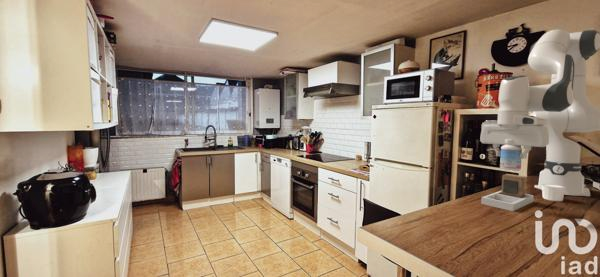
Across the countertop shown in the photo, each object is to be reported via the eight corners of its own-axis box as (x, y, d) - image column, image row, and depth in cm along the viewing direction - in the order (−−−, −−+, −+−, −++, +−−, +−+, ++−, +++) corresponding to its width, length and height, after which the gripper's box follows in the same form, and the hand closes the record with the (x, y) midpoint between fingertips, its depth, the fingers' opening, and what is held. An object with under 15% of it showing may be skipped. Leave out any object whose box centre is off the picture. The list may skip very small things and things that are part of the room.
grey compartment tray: (502, 198, 110) (503, 189, 110) (533, 205, 102) (533, 195, 102) (481, 207, 100) (481, 197, 99) (512, 215, 91) (513, 204, 91)
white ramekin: (569, 205, 102) (570, 187, 101) (551, 205, 102) (552, 187, 102) (552, 200, 109) (553, 183, 108) (536, 200, 109) (537, 183, 108)
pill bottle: (522, 171, 92) (524, 140, 92) (500, 169, 96) (502, 139, 95) (519, 169, 97) (521, 139, 97) (499, 167, 101) (500, 138, 100)
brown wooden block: (506, 197, 107) (507, 173, 107) (524, 201, 102) (525, 176, 102) (500, 199, 104) (501, 175, 103) (518, 203, 99) (520, 178, 98)
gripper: (477, 120, 103) (476, 154, 104) (543, 119, 85) (541, 161, 86) (486, 120, 106) (484, 153, 107) (552, 119, 88) (549, 160, 89)
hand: (510, 157), depth 96 cm, fingers closed on pill bottle, 6 cm apart
